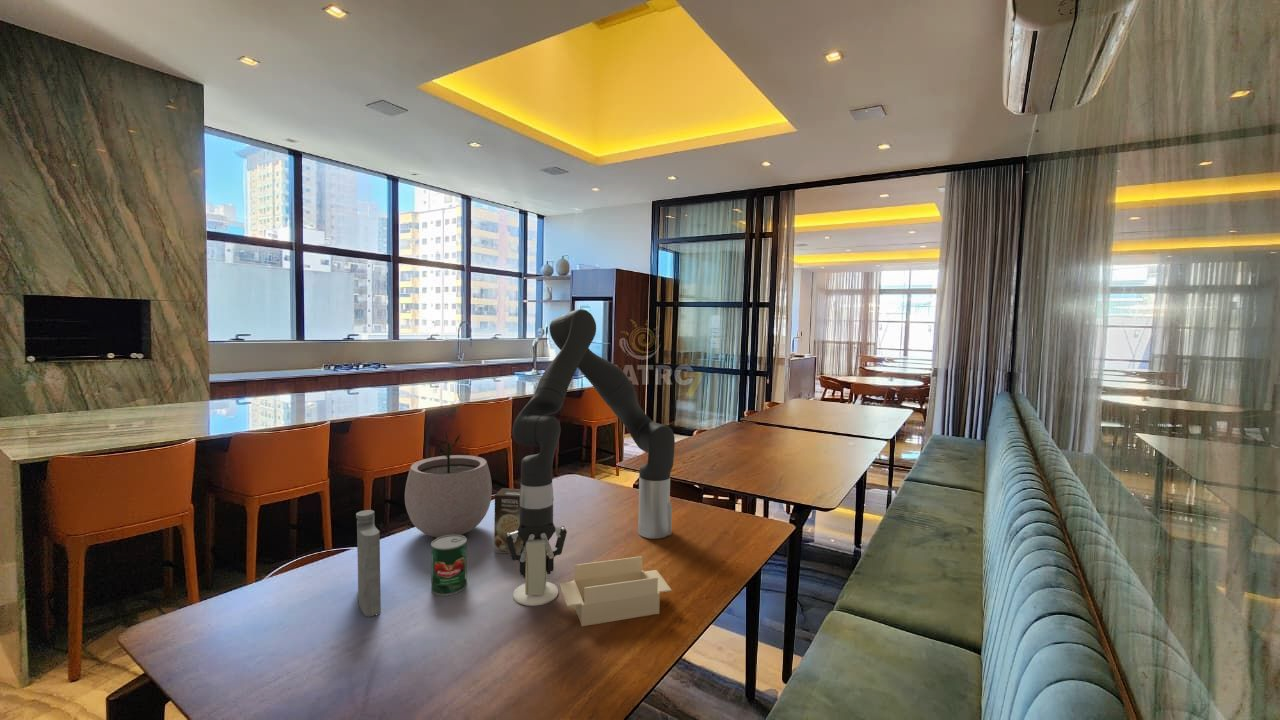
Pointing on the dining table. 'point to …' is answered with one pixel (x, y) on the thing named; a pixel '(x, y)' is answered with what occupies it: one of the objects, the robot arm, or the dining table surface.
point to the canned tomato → (448, 564)
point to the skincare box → (536, 567)
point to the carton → (613, 590)
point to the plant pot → (448, 493)
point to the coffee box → (506, 519)
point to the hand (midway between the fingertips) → (536, 574)
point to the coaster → (535, 600)
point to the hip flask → (368, 563)
